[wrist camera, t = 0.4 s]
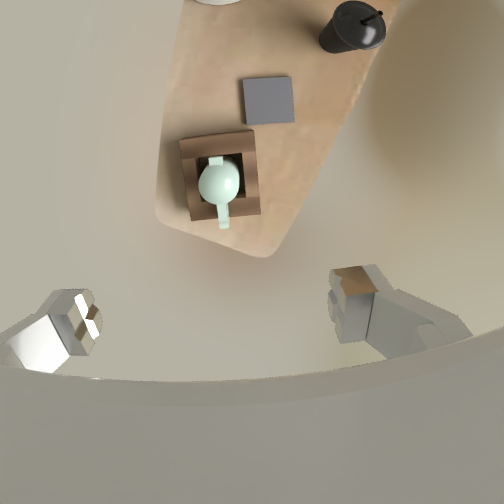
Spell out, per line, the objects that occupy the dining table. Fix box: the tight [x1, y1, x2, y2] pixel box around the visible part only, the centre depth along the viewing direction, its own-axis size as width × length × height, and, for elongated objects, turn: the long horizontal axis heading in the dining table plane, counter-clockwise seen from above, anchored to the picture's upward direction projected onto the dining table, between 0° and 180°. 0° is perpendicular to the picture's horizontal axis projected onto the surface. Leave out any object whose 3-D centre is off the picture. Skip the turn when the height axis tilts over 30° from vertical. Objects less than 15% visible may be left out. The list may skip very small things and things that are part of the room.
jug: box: [198, 156, 239, 229], centre depth 49 cm, size 11×6×9 cm, turn 5°
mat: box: [243, 77, 295, 125], centre depth 46 cm, size 8×8×1 cm
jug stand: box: [179, 130, 261, 221], centre depth 50 cm, size 14×12×4 cm
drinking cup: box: [319, 1, 386, 53], centre depth 32 cm, size 8×8×20 cm
